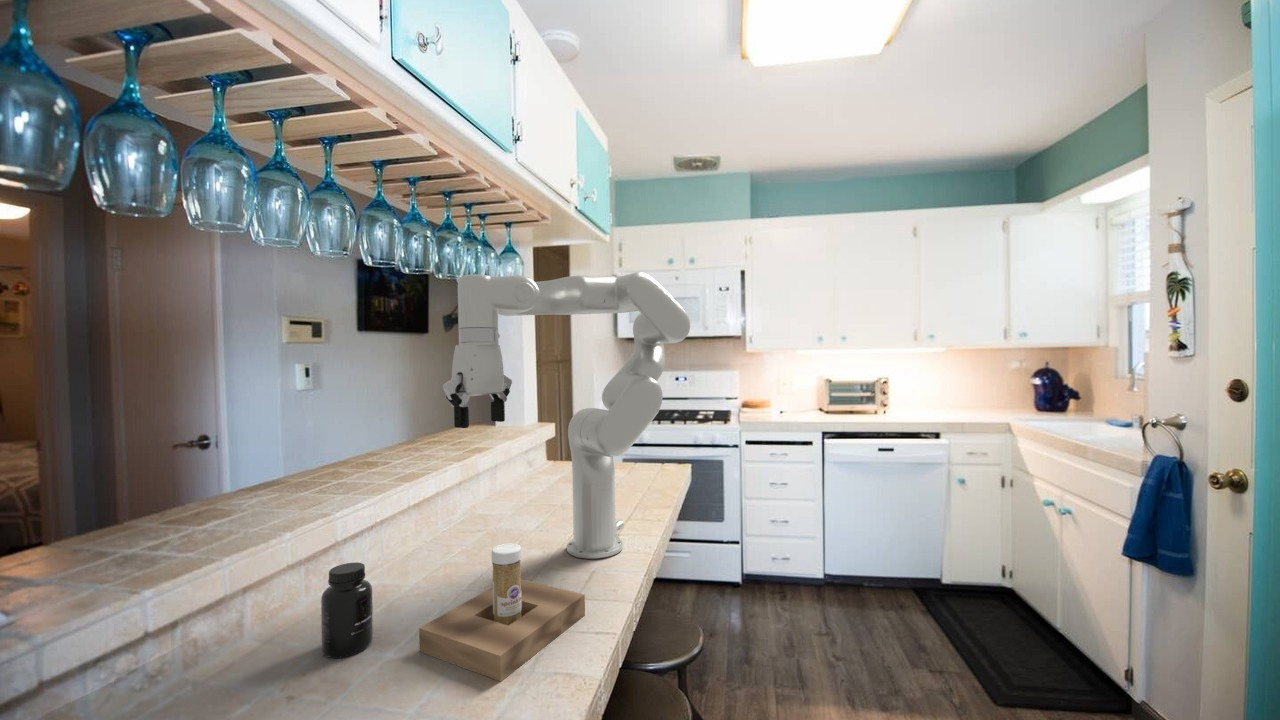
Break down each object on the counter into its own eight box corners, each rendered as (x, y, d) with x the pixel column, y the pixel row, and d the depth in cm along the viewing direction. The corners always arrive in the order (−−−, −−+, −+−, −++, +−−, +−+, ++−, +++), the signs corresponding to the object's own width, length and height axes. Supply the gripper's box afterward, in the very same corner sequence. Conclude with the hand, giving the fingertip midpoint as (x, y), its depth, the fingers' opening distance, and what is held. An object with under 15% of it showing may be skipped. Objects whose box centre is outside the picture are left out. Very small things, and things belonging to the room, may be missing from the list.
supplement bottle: (368, 654, 77) (366, 574, 77) (315, 663, 75) (313, 580, 75) (377, 631, 84) (375, 556, 84) (329, 638, 82) (327, 562, 82)
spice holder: (512, 595, 96) (511, 576, 96) (585, 615, 88) (584, 594, 88) (419, 651, 78) (419, 628, 78) (500, 681, 70) (500, 655, 70)
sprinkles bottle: (508, 642, 80) (506, 554, 80) (486, 634, 82) (485, 549, 82) (528, 628, 84) (527, 544, 84) (507, 621, 86) (505, 540, 86)
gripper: (495, 339, 113) (497, 418, 113) (429, 337, 98) (431, 429, 98) (522, 338, 110) (524, 420, 110) (458, 336, 94) (460, 431, 95)
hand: (480, 424), depth 104 cm, fingers open, 9 cm apart
